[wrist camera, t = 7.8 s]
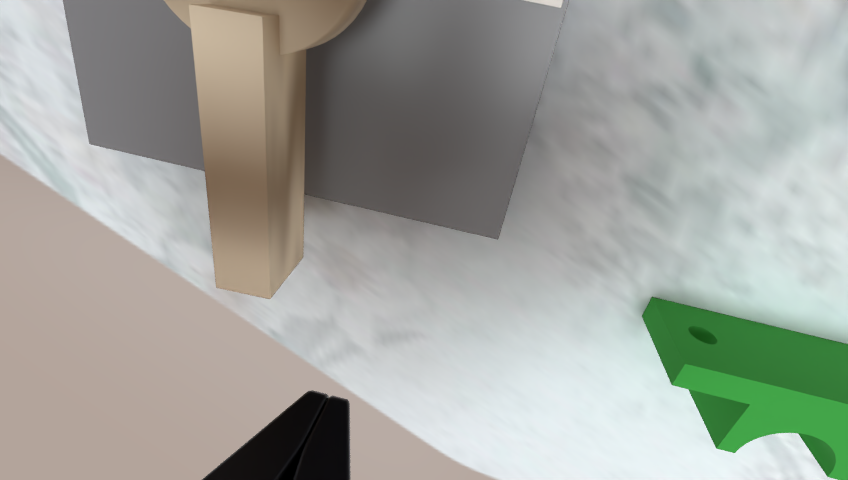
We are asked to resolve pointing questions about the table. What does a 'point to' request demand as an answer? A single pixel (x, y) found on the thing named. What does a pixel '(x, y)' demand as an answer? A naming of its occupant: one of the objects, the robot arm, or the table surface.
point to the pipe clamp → (756, 379)
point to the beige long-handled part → (256, 127)
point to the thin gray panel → (348, 99)
